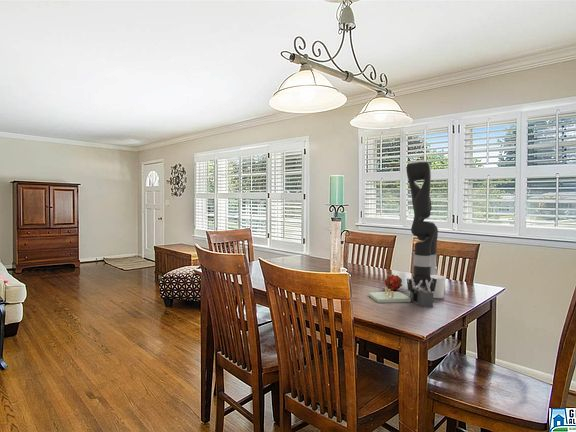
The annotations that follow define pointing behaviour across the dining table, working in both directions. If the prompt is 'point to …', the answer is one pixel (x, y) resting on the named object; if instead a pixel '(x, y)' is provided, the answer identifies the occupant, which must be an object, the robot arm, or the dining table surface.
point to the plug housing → (423, 297)
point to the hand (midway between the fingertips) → (421, 300)
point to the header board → (389, 296)
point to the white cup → (439, 286)
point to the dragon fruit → (393, 282)
